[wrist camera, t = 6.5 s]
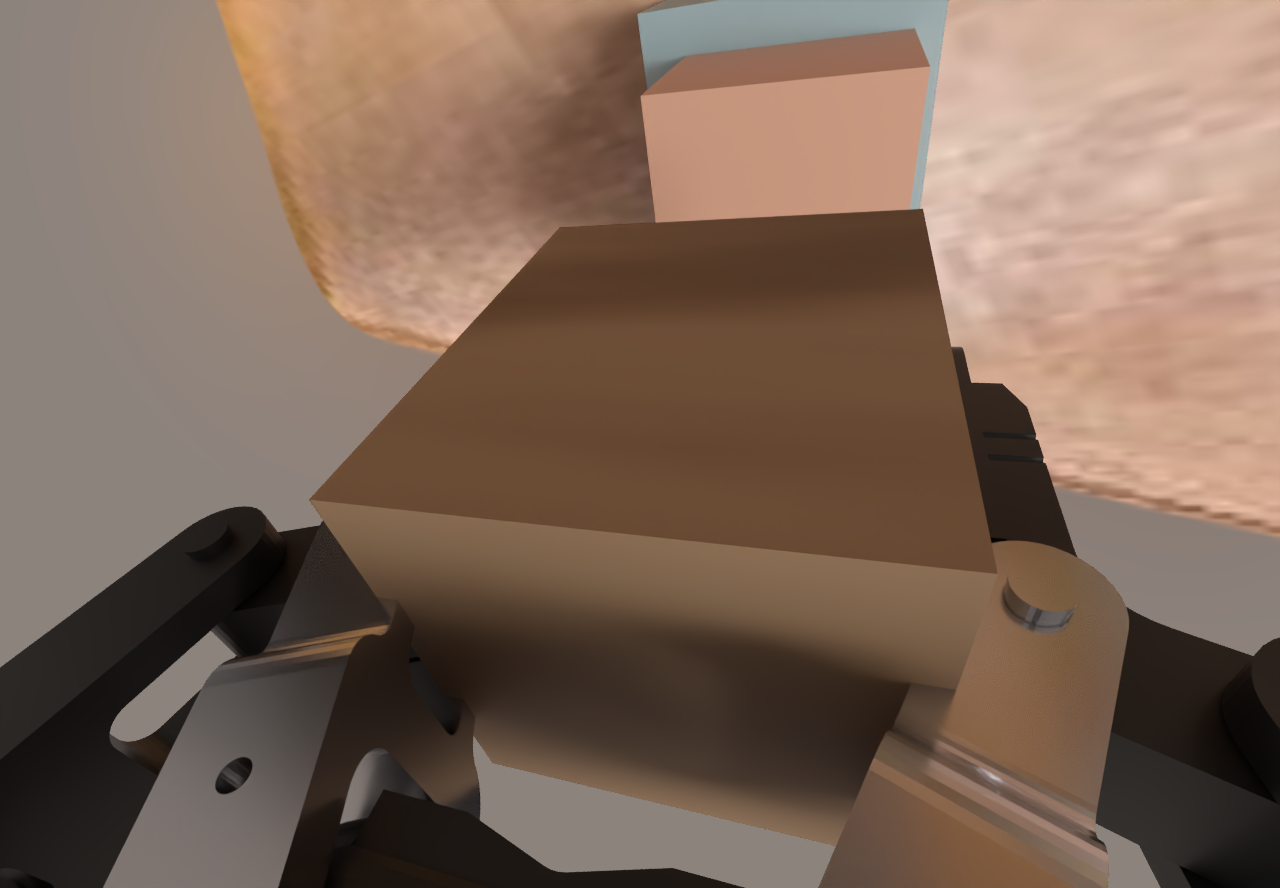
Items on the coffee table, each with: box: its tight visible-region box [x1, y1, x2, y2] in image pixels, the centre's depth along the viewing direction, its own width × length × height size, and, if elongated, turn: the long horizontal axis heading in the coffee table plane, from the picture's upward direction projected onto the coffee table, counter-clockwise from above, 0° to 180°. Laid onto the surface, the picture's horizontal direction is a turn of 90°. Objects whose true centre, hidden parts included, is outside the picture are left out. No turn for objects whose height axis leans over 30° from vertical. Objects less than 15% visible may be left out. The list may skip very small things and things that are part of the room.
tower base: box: [637, 0, 948, 209], centre depth 20 cm, size 8×8×4 cm
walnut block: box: [309, 209, 998, 846], centre depth 8 cm, size 5×5×6 cm
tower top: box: [641, 29, 930, 223], centre depth 17 cm, size 6×6×5 cm
